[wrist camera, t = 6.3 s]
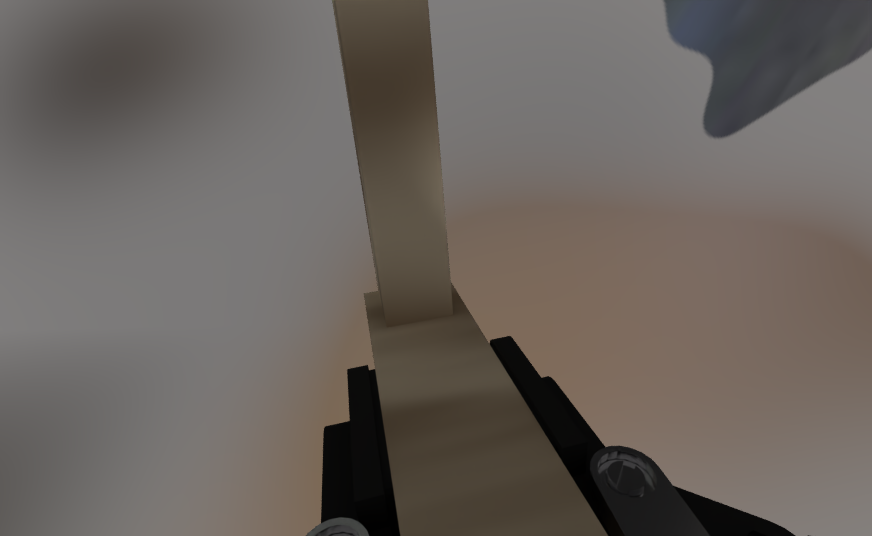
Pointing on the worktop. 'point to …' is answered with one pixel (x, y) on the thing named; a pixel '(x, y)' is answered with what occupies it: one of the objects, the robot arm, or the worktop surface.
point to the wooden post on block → (436, 313)
